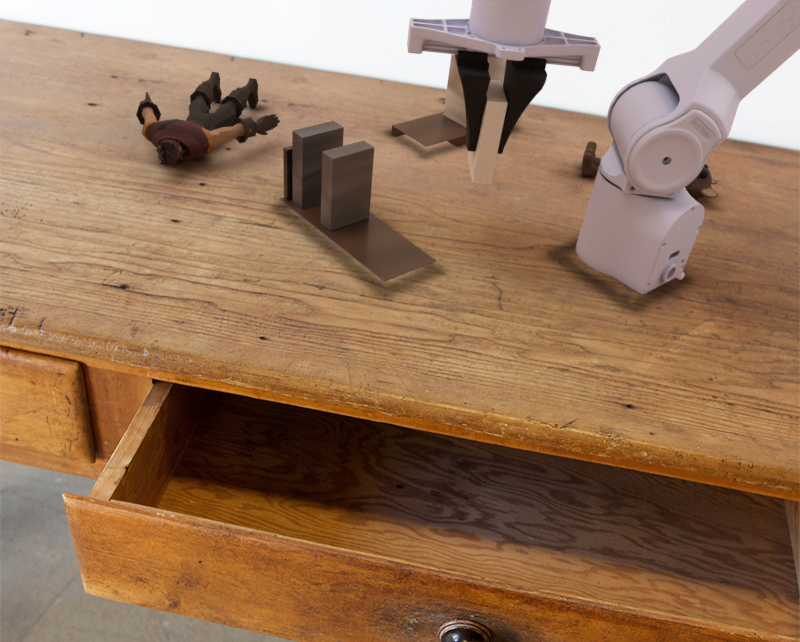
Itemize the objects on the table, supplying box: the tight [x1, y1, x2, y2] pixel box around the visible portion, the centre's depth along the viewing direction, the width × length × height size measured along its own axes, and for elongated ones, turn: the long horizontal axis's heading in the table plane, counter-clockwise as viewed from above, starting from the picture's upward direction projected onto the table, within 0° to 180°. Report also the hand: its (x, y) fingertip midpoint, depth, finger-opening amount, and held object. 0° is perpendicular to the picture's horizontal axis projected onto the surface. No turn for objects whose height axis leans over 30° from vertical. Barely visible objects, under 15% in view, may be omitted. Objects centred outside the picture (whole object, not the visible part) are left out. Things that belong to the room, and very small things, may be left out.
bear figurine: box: [580, 140, 719, 199], centre depth 82 cm, size 18×4×14 cm
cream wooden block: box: [467, 80, 508, 186], centre depth 63 cm, size 2×4×7 cm, turn 1°
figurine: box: [135, 71, 281, 166], centre depth 80 cm, size 15×4×20 cm
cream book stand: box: [390, 54, 506, 148], centre depth 86 cm, size 6×14×8 cm, turn 130°
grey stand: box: [278, 120, 437, 283], centre depth 68 cm, size 16×6×8 cm, turn 40°
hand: (483, 147), depth 64 cm, fingers closed on cream wooden block, 2 cm apart
